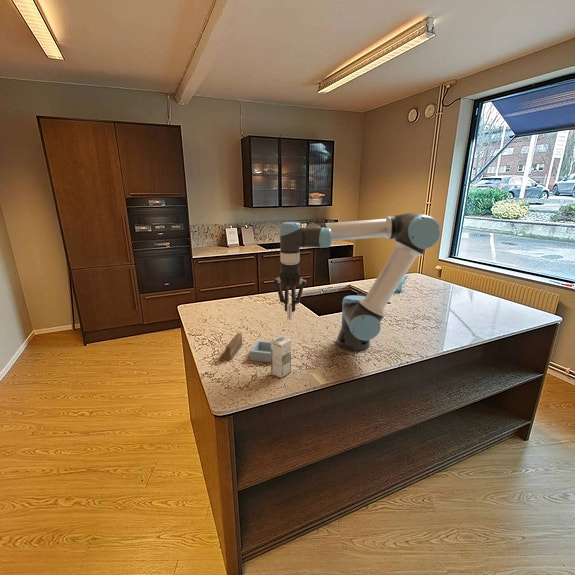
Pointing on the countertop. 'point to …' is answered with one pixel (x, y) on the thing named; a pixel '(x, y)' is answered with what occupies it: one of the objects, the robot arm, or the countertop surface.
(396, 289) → the teapot
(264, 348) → the blue gray square tray
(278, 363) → the syrup box
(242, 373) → the countertop surface
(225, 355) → the base
